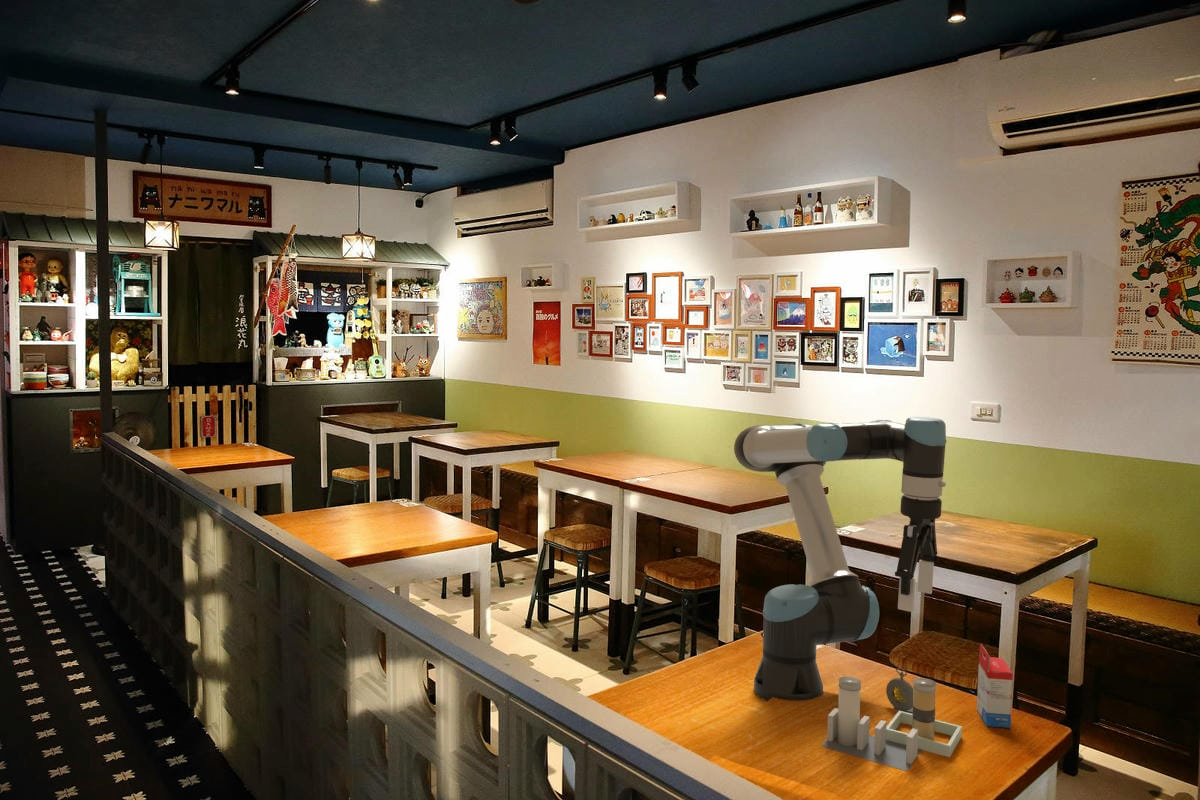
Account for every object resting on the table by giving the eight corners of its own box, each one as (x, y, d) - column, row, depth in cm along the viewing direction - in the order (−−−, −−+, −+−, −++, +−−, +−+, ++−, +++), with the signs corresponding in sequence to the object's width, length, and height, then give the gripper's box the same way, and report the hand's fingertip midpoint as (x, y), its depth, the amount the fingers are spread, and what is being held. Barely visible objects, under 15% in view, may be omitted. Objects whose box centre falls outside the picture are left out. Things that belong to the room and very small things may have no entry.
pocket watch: (925, 705, 182) (927, 660, 182) (927, 722, 174) (928, 675, 174) (885, 700, 185) (887, 655, 184) (885, 716, 177) (887, 669, 176)
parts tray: (884, 746, 164) (884, 728, 163) (898, 727, 172) (899, 710, 171) (949, 764, 157) (950, 746, 156) (961, 744, 165) (961, 726, 165)
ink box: (1011, 729, 172) (1014, 659, 171) (985, 726, 173) (988, 656, 172) (1000, 711, 180) (1003, 644, 179) (975, 709, 181) (978, 642, 180)
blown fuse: (909, 743, 164) (910, 683, 163) (915, 735, 167) (916, 676, 166) (931, 749, 161) (932, 688, 161) (936, 740, 165) (938, 681, 164)
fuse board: (820, 753, 160) (821, 720, 160) (838, 733, 169) (839, 702, 168) (907, 779, 151) (908, 744, 151) (921, 757, 160) (922, 723, 159)
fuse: (833, 742, 162) (835, 681, 161) (841, 734, 165) (842, 674, 164) (855, 748, 160) (857, 686, 159) (861, 740, 163) (863, 679, 162)
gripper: (923, 509, 153) (917, 622, 155) (956, 488, 174) (950, 589, 176) (882, 504, 158) (876, 613, 160) (919, 484, 178) (913, 581, 180)
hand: (915, 601), depth 168 cm, fingers open, 13 cm apart
